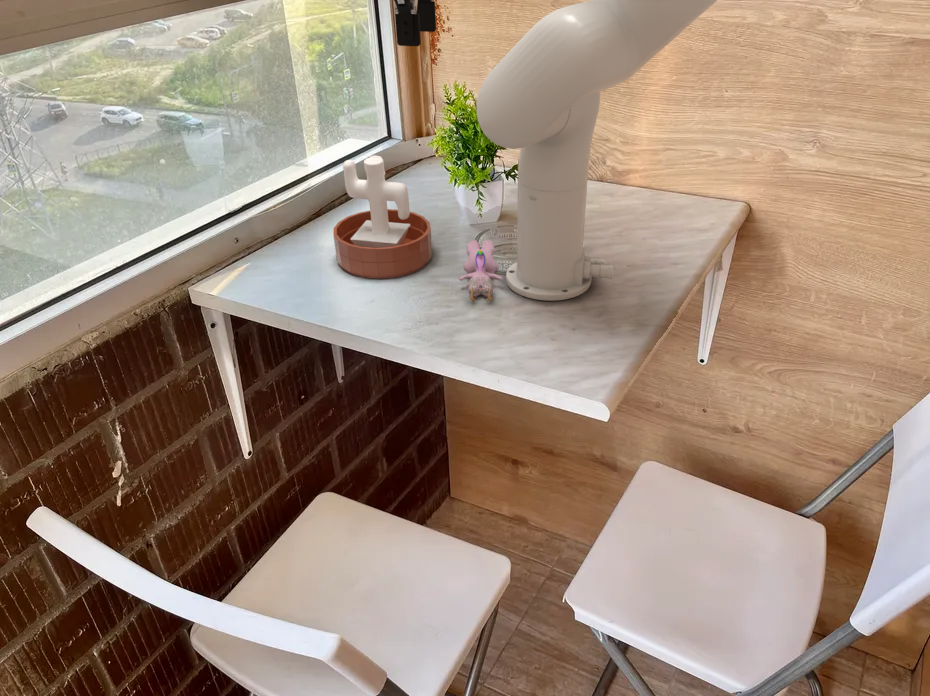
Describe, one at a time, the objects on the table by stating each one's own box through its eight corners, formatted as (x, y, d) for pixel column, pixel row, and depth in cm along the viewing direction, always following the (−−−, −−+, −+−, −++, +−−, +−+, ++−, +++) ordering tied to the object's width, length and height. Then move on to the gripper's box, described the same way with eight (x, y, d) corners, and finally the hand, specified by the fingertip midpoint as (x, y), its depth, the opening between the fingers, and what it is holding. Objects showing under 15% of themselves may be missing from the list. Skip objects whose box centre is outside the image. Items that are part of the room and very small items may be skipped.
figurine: (405, 266, 116) (397, 169, 107) (346, 260, 117) (333, 164, 109) (418, 246, 122) (412, 152, 113) (362, 241, 123) (351, 148, 115)
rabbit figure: (502, 310, 109) (500, 249, 120) (503, 277, 105) (500, 216, 116) (458, 311, 109) (460, 250, 120) (457, 277, 105) (459, 217, 115)
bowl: (440, 241, 125) (439, 212, 122) (420, 282, 113) (417, 251, 110) (353, 235, 126) (350, 206, 123) (324, 276, 115) (319, 245, 112)
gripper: (422, -100, 92) (429, 52, 102) (450, -108, 106) (455, 27, 115) (361, -101, 92) (374, 50, 102) (397, -109, 106) (406, 25, 116)
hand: (417, 38), depth 109 cm, fingers open, 9 cm apart
